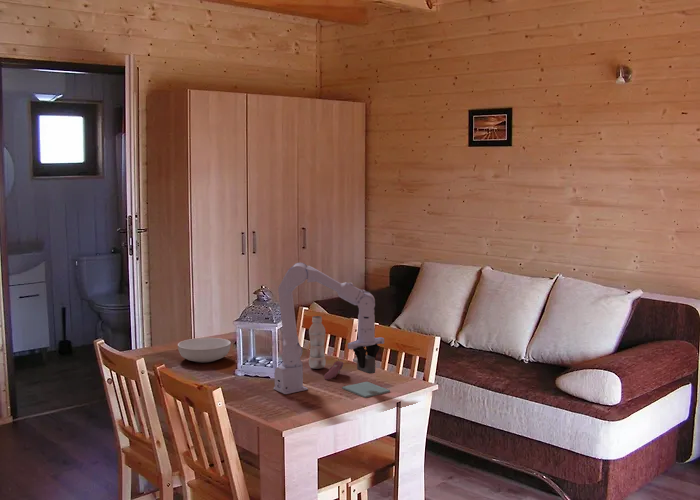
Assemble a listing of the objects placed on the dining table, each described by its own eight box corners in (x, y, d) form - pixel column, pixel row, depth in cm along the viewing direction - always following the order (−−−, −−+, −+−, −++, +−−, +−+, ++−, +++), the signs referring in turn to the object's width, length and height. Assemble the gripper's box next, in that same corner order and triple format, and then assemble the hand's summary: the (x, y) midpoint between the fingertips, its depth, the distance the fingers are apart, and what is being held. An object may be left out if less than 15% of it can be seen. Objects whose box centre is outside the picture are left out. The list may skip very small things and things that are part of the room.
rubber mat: (364, 397, 260) (364, 396, 260) (342, 388, 270) (342, 386, 270) (390, 391, 267) (390, 390, 266) (367, 383, 277) (367, 381, 277)
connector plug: (369, 374, 263) (369, 359, 263) (351, 367, 272) (351, 353, 271) (377, 372, 265) (377, 358, 265) (358, 365, 274) (358, 352, 273)
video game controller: (333, 384, 280) (341, 368, 279) (322, 378, 281) (330, 362, 280) (339, 377, 290) (347, 361, 289) (328, 371, 290) (336, 355, 289)
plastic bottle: (305, 369, 294) (305, 318, 292) (313, 365, 300) (313, 314, 298) (321, 371, 292) (321, 319, 289) (328, 367, 298) (328, 316, 295)
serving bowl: (241, 357, 311) (241, 341, 311) (205, 369, 294) (205, 352, 293) (203, 350, 322) (203, 334, 322) (166, 362, 305) (166, 344, 304)
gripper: (356, 333, 258) (356, 372, 260) (390, 327, 267) (389, 365, 269) (344, 329, 264) (343, 368, 266) (377, 323, 272) (376, 361, 274)
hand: (366, 366), depth 267 cm, fingers closed on connector plug, 3 cm apart
